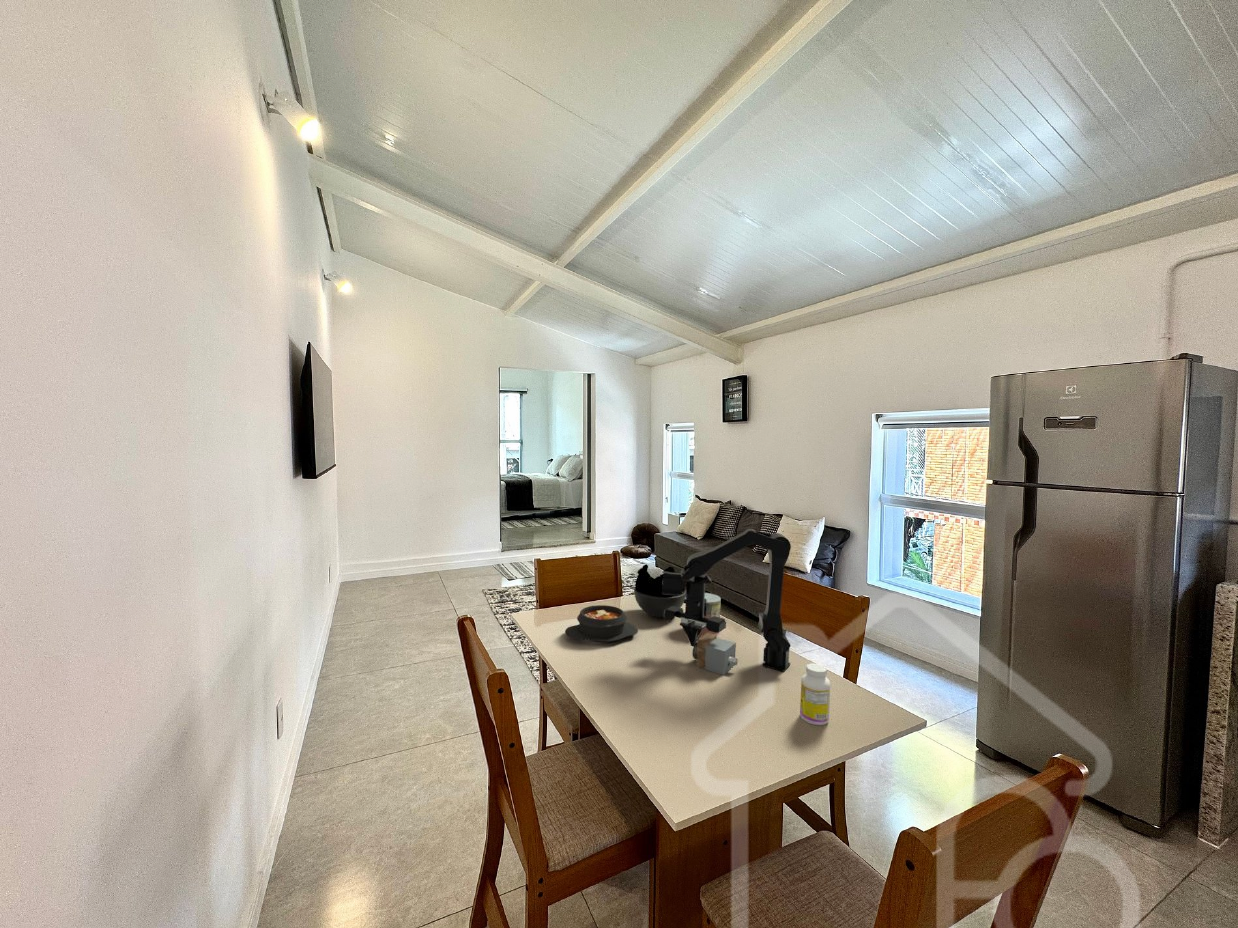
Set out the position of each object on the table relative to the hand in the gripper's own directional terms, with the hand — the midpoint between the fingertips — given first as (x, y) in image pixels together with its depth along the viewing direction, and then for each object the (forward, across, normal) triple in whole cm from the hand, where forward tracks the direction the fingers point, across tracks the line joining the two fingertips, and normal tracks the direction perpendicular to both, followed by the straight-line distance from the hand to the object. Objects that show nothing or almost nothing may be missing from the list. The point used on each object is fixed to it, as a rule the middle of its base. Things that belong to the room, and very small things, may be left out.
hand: (693, 645), depth 156 cm
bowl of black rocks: (+4, +28, -27) cm, 39 cm away
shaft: (+3, -8, 0) cm, 8 cm away
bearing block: (+4, -9, 0) cm, 10 cm away
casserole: (+5, +33, +3) cm, 33 cm away
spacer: (+4, -5, 0) cm, 6 cm away
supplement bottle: (+4, -39, +12) cm, 41 cm away
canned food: (+4, +8, -24) cm, 26 cm away
